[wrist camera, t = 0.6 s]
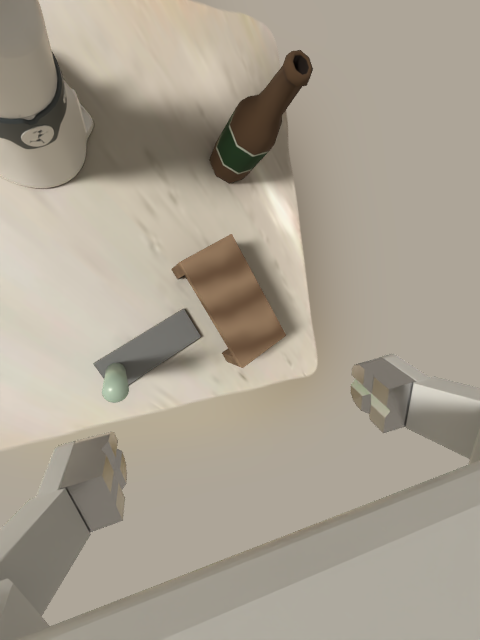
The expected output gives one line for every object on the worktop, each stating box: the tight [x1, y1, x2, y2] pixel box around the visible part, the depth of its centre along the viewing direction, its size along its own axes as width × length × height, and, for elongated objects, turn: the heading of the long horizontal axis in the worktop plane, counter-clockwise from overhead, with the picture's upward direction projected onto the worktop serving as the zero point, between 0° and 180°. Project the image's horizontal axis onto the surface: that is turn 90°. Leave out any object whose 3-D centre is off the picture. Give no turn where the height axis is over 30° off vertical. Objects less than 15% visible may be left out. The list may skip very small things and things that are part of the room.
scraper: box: [93, 309, 201, 403], centre depth 44 cm, size 17×6×14 cm, turn 121°
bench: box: [172, 234, 286, 368], centre depth 52 cm, size 20×10×8 cm, turn 31°
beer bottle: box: [210, 50, 313, 183], centre depth 45 cm, size 8×8×24 cm
